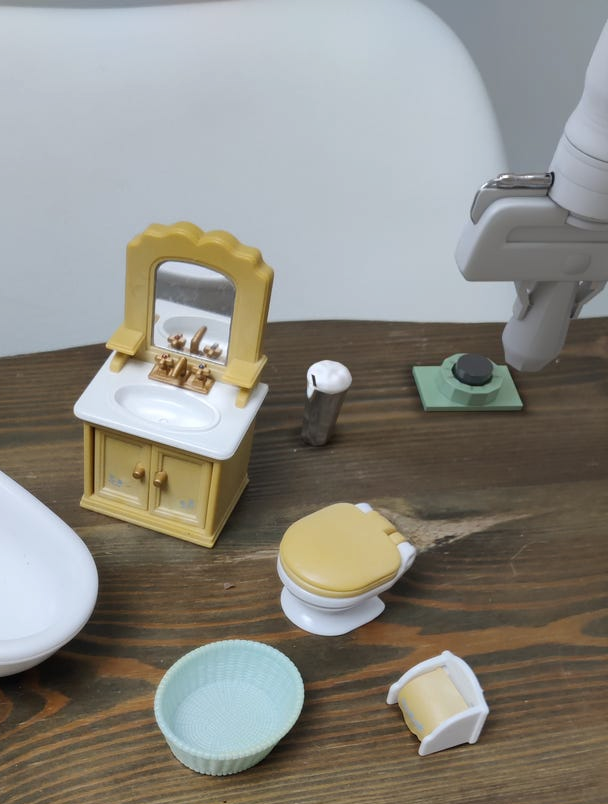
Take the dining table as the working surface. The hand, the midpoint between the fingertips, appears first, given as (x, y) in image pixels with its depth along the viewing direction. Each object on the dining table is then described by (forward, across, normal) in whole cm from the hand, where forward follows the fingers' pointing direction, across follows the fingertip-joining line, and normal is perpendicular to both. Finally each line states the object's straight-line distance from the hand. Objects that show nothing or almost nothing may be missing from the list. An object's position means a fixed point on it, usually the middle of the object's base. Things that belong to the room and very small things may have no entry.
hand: (544, 315), depth 93 cm
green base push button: (+17, 0, +10) cm, 20 cm away
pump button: (+15, 0, +10) cm, 18 cm away
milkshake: (+17, -19, +2) cm, 26 cm away
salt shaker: (+5, 0, 0) cm, 5 cm away
